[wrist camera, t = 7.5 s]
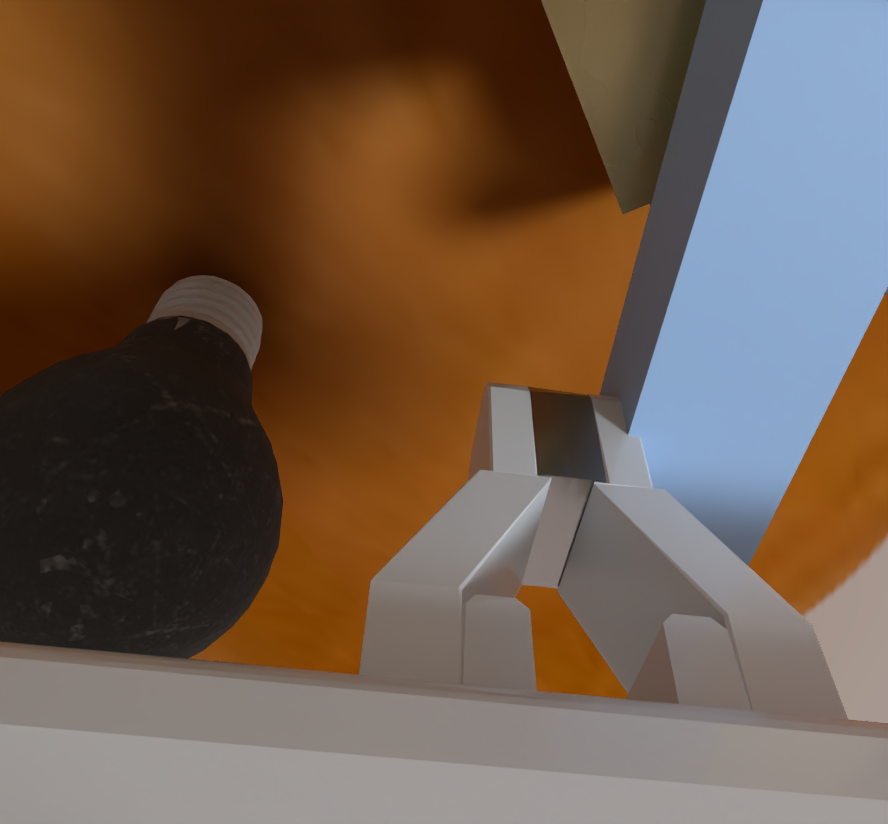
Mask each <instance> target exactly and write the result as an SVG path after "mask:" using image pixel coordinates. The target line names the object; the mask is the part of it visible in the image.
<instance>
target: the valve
mask: <svg viewBox="0 0 888 824" xmlns="http://www.w3.org/2000/svg"><path fill="white" fill-rule="evenodd" d="M541 1H542V4H543V7H544V9H545V12H546V15H547V17H548V20H549V22H550V25H551V28H552V30H553V33H554V35H555V38H556V41H557V43H558V46H559V48H560V51H561V54H562V56H563V59H564V62H565V64H566V67H567V69H568V72H569V75H570V77H571V80H572V82H573V85H574V88H575V90H576V93H577V95H578V98H579V101H580V103H581V106H582V108H583V111H584V114H585V116H586V119H587V122H588V124H589V127H590V129H591V132H592V135H593V137H594V140H595V142H596V145H597V148H598V150H599V153H600V155H601V158H602V161H603V163H604V166H605V169H606V171H607V174H608V176H609V179H610V182H611V184H612V187H613V189H614V192H615V195H616V197H617V200H618V202H619V205H620V208H621V210H622V213H623V214H625V213H627V212H630V211H632V210H635V209H637V208H639V207H642V206H644V205H647V204H649V203H650V206H651V203H652V199H653V196H654V192H655V188H656V184H657V181H658V177H659V173H660V170H661V166H662V162H663V158H664V155H665V151H666V147H667V144H668V140H669V136H670V133H671V129H672V125H673V121H674V118H675V114H676V110H677V107H678V103H679V99H680V96H681V92H682V88H683V84H684V81H685V77H686V73H687V70H688V66H689V62H690V58H691V55H692V51H693V47H694V44H695V40H696V36H697V33H698V29H699V25H700V21H701V18H702V14H703V10H704V7H705V3H706V0H541ZM885 294H888V287H887V289H886V291H885V293H884V295H885Z"/></svg>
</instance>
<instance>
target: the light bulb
mask: <svg viewBox="0 0 888 824" xmlns="http://www.w3.org/2000/svg"><path fill="white" fill-rule="evenodd" d="M261 335H262V316H261V314H260V312H259V309H258V307H257V305H256V303H255V302H254V301H253V299H252V298H251V297H250V295H248V294H247V293H246V292H245V291H244V290H242V289H241V288H240V287H239V286H237V285H235V284H233V283H231V282H229V281H227V280H225V279H222V278H218V277H215V276H206V275H199V276H190V277H187V278H184V279H182V280H179V281H177V282H176V283H175V284H174V285H172V286H171V287H170V288H169V289H167V290H166V291H165V292H164V293H163V295H162V296H161V298H160V299H159V301H158V303H157V304H156V306H155V308H154V310H153V311H152V313H151V315H150V317H149V318H148V320H147V322H146V323H145V324H143V325H141V326H140V327H138V328H137V329H135V330H134V331H133V332H131V333H130V334H129V335H128V336H127V337H126V338H125V339H124V340H123V341H122V342H121V343H120V344H119V345H118V346H116V347H112V348H109V349H105V350H101V351H97V352H93V353H89V354H85V355H81V356H77V357H74V358H70V359H67V360H64V361H60V362H58V363H56V364H54V365H52V366H51V367H49V368H47V369H45V370H43V371H41V372H39V373H37V374H35V375H34V376H32V377H30V378H28V379H26V380H25V381H23V382H22V383H20V384H19V385H17V386H15V387H14V388H12V389H10V390H8V391H7V392H5V393H4V394H3V395H2V396H1V397H0V641H1V642H12V643H23V644H34V645H44V646H55V647H66V648H77V649H88V650H99V651H109V652H120V653H131V654H142V655H153V656H164V657H174V658H185V659H188V658H190V657H192V656H194V655H196V654H197V653H199V652H201V651H203V650H205V649H206V648H207V647H208V646H209V645H211V644H212V643H213V642H215V641H216V640H217V639H218V638H219V637H220V636H222V635H223V634H224V633H225V632H226V631H228V630H229V629H230V628H231V627H232V626H233V625H234V624H235V623H236V622H237V621H238V619H239V618H240V617H241V616H242V615H243V614H244V613H245V611H246V610H247V609H248V608H249V607H250V605H251V603H252V602H253V600H254V598H255V597H256V595H257V593H258V592H259V590H260V589H261V587H262V585H263V584H264V582H265V580H266V578H267V576H268V573H269V570H270V567H271V564H272V562H273V559H274V556H275V554H276V551H277V548H278V546H279V537H280V526H281V517H282V507H283V498H282V492H281V486H280V480H279V474H278V468H277V462H276V459H275V457H274V454H273V450H272V446H271V443H270V441H269V439H268V437H267V435H266V433H265V431H264V429H263V427H262V425H261V423H260V422H259V420H258V418H257V416H256V414H255V412H254V410H253V408H252V404H251V399H252V373H251V370H252V366H253V364H254V362H255V359H256V355H257V353H258V351H259V348H260V341H261Z"/></svg>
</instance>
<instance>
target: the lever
mask: <svg viewBox="0 0 888 824" xmlns="http://www.w3.org/2000/svg"><path fill="white" fill-rule="evenodd" d="M887 287H888V0H706V3H705V7H704V10H703V14H702V18H701V21H700V25H699V29H698V33H697V36H696V40H695V44H694V47H693V51H692V55H691V58H690V62H689V66H688V70H687V73H686V77H685V81H684V84H683V88H682V92H681V96H680V99H679V103H678V107H677V110H676V114H675V118H674V121H673V125H672V129H671V133H670V136H669V140H668V144H667V147H666V151H665V155H664V158H663V162H662V166H661V170H660V173H659V177H658V181H657V184H656V188H655V192H654V196H653V199H652V203H651V207H650V210H649V214H648V218H647V221H646V225H645V229H644V233H643V236H642V240H641V244H640V247H639V251H638V255H637V258H636V262H635V266H634V270H633V273H632V277H631V281H630V284H629V288H628V292H627V295H626V299H625V303H624V307H623V310H622V314H621V318H620V321H619V325H618V329H617V333H616V336H615V340H614V344H613V347H612V351H611V355H610V358H609V362H608V366H607V370H606V373H605V377H604V381H603V384H602V388H601V392H600V395H604V396H616V397H618V398H619V399H620V401H621V403H622V408H623V413H624V417H625V422H626V427H627V432H628V435H632V436H639V437H640V438H641V441H642V445H643V449H644V453H645V457H646V461H647V465H648V469H649V473H650V477H651V481H652V485H653V488H655V489H664V490H666V491H667V492H668V493H669V494H670V495H671V496H672V497H673V498H675V499H676V500H677V501H678V502H679V503H680V504H681V505H682V506H683V507H684V508H685V509H686V510H688V511H689V512H690V513H691V514H692V515H693V516H694V517H695V518H696V519H697V520H698V521H700V522H701V523H702V524H703V525H704V526H705V527H706V528H707V529H708V530H709V531H710V532H711V533H713V534H714V535H715V536H716V537H717V538H718V539H719V540H720V541H721V542H722V543H723V544H725V545H726V546H727V547H728V548H729V549H730V550H731V551H732V552H733V553H734V554H735V555H736V556H738V557H739V558H740V559H741V560H742V561H743V562H744V563H745V564H746V565H747V566H748V565H749V563H750V561H751V559H752V557H753V555H754V553H755V551H756V549H757V547H758V545H759V543H760V541H761V539H762V537H763V535H764V533H765V531H766V529H767V527H768V525H769V523H770V521H771V519H772V517H773V515H774V513H775V511H776V509H777V507H778V505H779V503H780V501H781V499H782V497H783V495H784V493H785V491H786V489H787V487H788V485H789V483H790V481H791V479H792V477H793V475H794V473H795V471H796V469H797V467H798V465H799V463H800V461H801V459H802V457H803V455H804V453H805V451H806V449H807V447H808V445H809V443H810V441H811V439H812V437H813V435H814V433H815V431H816V429H817V427H818V425H819V423H820V421H821V419H822V417H823V415H824V413H825V411H826V409H827V407H828V405H829V403H830V401H831V399H832V397H833V395H834V393H835V391H836V389H837V387H838V385H839V383H840V381H841V379H842V377H843V375H844V373H845V371H846V369H847V367H848V365H849V363H850V361H851V359H852V357H853V355H854V353H855V351H856V349H857V347H858V345H859V343H860V341H861V339H862V337H863V335H864V333H865V331H866V329H867V327H868V325H869V323H870V321H871V319H872V317H873V315H874V313H875V311H876V309H877V307H878V305H879V303H880V301H881V299H882V297H883V295H884V293H885V291H886V289H887Z"/></svg>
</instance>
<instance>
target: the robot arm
mask: <svg viewBox="0 0 888 824" xmlns="http://www.w3.org/2000/svg"><path fill="white" fill-rule="evenodd" d="M521 585H531V586H542V587H550V588H558V591H557V592H558V593H559V595H560V596H561V597H562V599H563V600H564V602H565V603H566V605H567V606H568V608H569V609H570V610H571V612H572V613H573V615H574V616H575V618H576V619H577V621H578V622H579V624H580V625H581V626H582V628H583V629H584V631H585V632H586V634H587V635H588V637H589V638H590V639H591V641H592V642H593V644H594V645H595V647H596V648H597V650H598V651H599V653H600V654H601V655H602V657H603V658H604V660H605V661H606V663H607V664H608V666H609V667H610V668H611V670H612V671H613V673H614V674H615V676H616V677H617V679H618V680H619V682H620V683H621V684H622V686H623V687H624V689H625V690H626V692H627V693H628V696H627V698H626V699H619V698H608V697H597V696H586V695H576V694H565V693H554V692H543V691H536V679H535V667H534V654H533V642H532V629H531V616H530V609H529V608H527V607H526V606H525V605H524V604H522V603H521V602H520V601H519V600H517V599H516V598H514V597H515V596H516V594H517V593H518V591H519V590H520V588H521ZM0 824H888V723H878V722H868V721H856V720H848V718H847V715H846V712H845V710H844V707H843V705H842V702H841V700H840V697H839V694H838V691H837V689H836V686H835V684H834V681H833V678H832V676H831V673H830V670H829V668H828V665H827V663H826V660H825V658H824V655H823V652H822V650H821V647H820V644H819V641H818V639H817V636H816V634H815V631H814V628H813V626H812V625H811V624H810V623H809V622H808V621H807V620H806V619H805V618H804V617H803V616H802V615H801V614H800V613H798V612H797V611H796V610H795V609H794V608H793V607H792V606H791V605H790V604H789V603H788V602H786V601H785V600H784V599H783V598H782V597H781V596H780V595H779V594H778V593H777V592H776V591H775V590H773V589H772V588H771V587H770V586H769V585H768V584H767V583H766V582H765V581H764V580H763V579H761V578H760V577H759V576H758V575H757V574H756V573H755V572H754V571H753V570H752V569H751V568H750V567H748V566H747V565H746V564H745V563H744V562H743V561H742V560H741V559H740V558H739V557H738V556H736V555H735V554H734V553H733V552H732V551H731V550H730V549H729V548H728V547H727V546H726V545H725V544H723V543H722V542H721V541H720V540H719V539H718V538H717V537H716V536H715V535H714V534H713V533H711V532H710V531H709V530H708V529H707V528H706V527H705V526H704V525H703V524H702V523H701V522H700V521H698V520H697V519H696V518H695V517H694V516H693V515H692V514H691V513H690V512H689V511H688V510H686V509H685V508H684V507H683V506H682V505H681V504H680V503H679V502H678V501H677V500H676V499H675V498H673V497H672V496H671V495H670V494H669V493H668V492H667V491H666V490H664V489H655V488H653V485H652V481H651V477H650V473H649V469H648V465H647V461H646V457H645V453H644V449H643V445H642V441H641V438H640V437H639V436H632V435H628V432H627V427H626V422H625V417H624V413H623V408H622V403H621V401H620V399H619V398H618V397H616V396H604V395H592V394H588V395H585V394H578V393H571V392H563V391H556V390H549V389H541V388H534V387H528V388H527V387H525V386H517V385H509V384H500V383H492V382H488V383H487V385H486V387H485V389H484V392H483V397H482V402H481V407H480V412H479V417H478V422H477V427H476V432H475V437H474V442H473V447H472V453H471V461H470V469H469V477H468V481H467V482H466V483H465V484H464V485H463V486H462V487H461V488H460V489H459V490H458V491H457V492H456V493H455V494H454V495H453V496H452V497H451V498H450V499H449V500H448V501H447V502H446V503H445V505H444V506H443V507H442V508H441V509H440V510H439V511H438V512H437V513H436V514H435V515H434V516H433V517H432V518H431V519H430V520H429V521H428V522H427V523H426V524H425V525H424V526H423V527H422V528H421V529H420V530H419V531H418V532H417V533H416V534H415V535H414V536H413V537H412V538H411V540H410V541H409V542H408V543H407V544H406V545H405V546H404V547H403V548H402V549H401V550H400V551H399V552H398V553H397V554H396V555H395V556H394V557H393V558H392V559H391V560H390V561H389V562H388V563H387V564H386V565H385V566H384V567H383V568H382V569H381V570H380V571H379V572H378V574H377V575H376V576H375V577H374V578H373V579H372V580H371V584H370V592H369V600H368V608H367V615H366V623H365V631H364V639H363V647H362V655H361V663H360V671H359V674H348V673H337V672H326V671H315V670H305V669H294V668H283V667H272V666H261V665H250V664H240V663H229V662H218V661H207V660H196V659H185V658H174V657H164V656H153V655H142V654H131V653H120V652H109V651H99V650H88V649H77V648H66V647H55V646H44V645H34V644H23V643H12V642H1V641H0Z"/></svg>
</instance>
